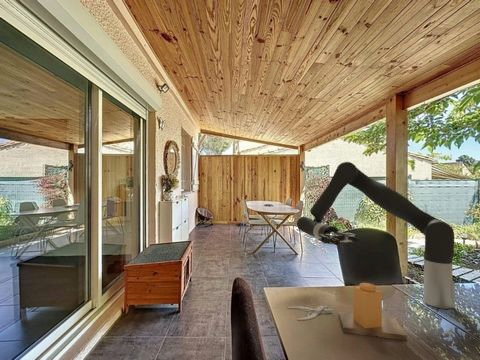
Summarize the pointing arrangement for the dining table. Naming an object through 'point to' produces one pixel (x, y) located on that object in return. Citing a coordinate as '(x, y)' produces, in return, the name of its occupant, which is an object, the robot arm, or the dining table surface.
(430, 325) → the dining table surface
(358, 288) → the orange toy brick
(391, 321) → the board
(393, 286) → the dining table surface
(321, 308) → the pliers
